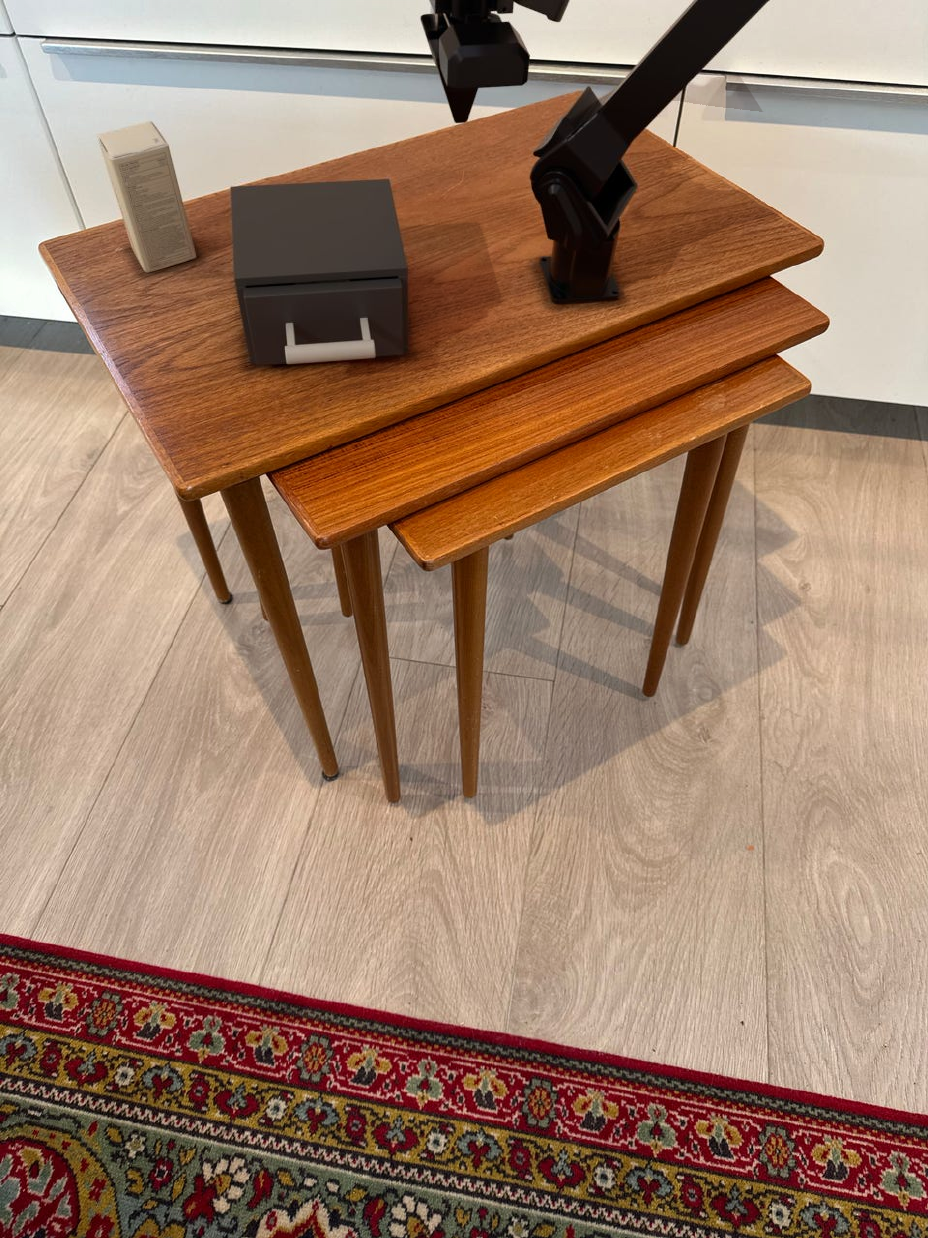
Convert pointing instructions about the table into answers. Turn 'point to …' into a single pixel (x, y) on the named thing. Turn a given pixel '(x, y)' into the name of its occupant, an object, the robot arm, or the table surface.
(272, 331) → the drawer
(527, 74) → the robot arm
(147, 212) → the box
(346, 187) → the cabinet
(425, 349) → the table surface
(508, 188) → the table surface
